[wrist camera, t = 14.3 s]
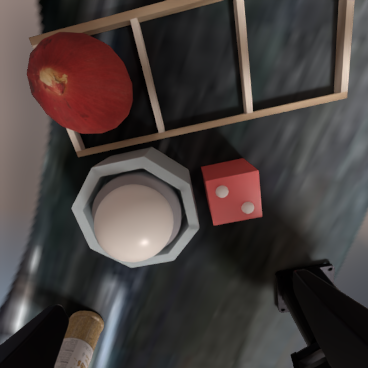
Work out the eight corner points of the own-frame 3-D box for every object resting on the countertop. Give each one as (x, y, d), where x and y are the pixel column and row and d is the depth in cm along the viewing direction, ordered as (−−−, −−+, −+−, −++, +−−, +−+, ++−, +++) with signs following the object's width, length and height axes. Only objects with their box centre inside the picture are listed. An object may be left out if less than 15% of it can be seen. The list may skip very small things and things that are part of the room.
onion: (77, 127, 17) (-5, 141, 10) (65, 50, 15) (-51, -8, 8) (143, 129, 17) (112, 145, 10) (140, 53, 15) (99, -2, 8)
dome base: (249, 220, 21) (266, 248, 16) (115, 244, 22) (99, 277, 17) (239, 127, 17) (258, 133, 13) (81, 161, 18) (51, 177, 14)
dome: (188, 229, 19) (190, 278, 14) (118, 242, 20) (93, 294, 14) (171, 159, 17) (165, 184, 11) (92, 176, 17) (48, 208, 12)
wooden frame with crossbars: (339, 98, 16) (347, 97, 16) (82, 155, 18) (78, 157, 17) (348, -43, 13) (358, -52, 13) (36, 41, 15) (28, 37, 14)
